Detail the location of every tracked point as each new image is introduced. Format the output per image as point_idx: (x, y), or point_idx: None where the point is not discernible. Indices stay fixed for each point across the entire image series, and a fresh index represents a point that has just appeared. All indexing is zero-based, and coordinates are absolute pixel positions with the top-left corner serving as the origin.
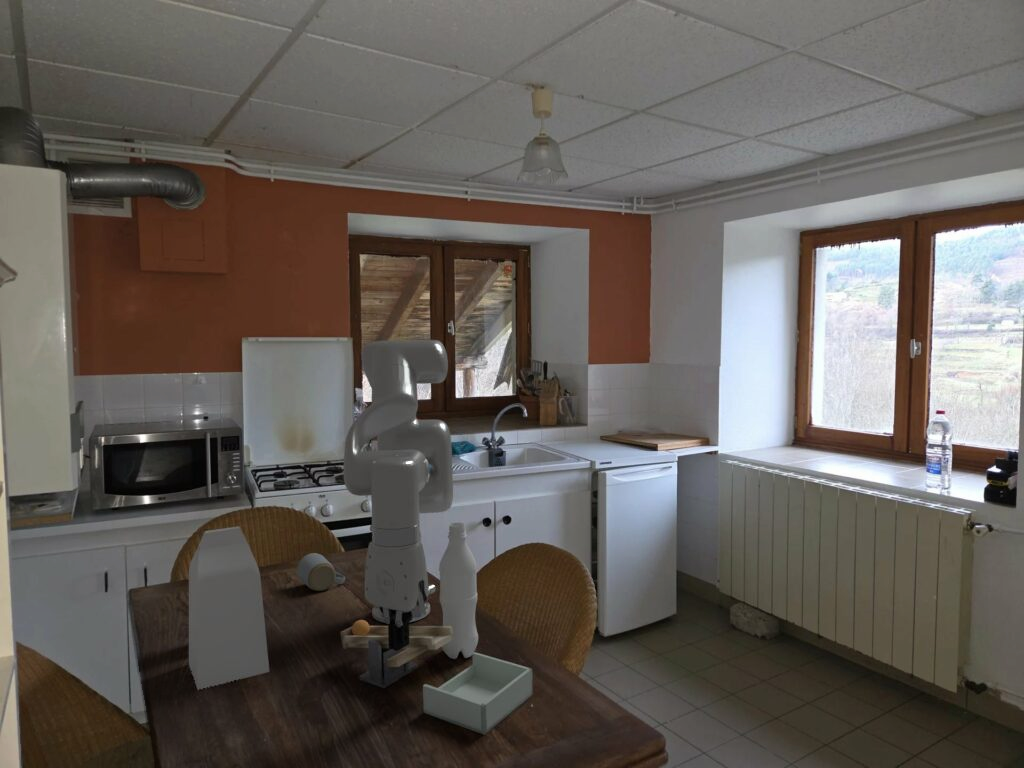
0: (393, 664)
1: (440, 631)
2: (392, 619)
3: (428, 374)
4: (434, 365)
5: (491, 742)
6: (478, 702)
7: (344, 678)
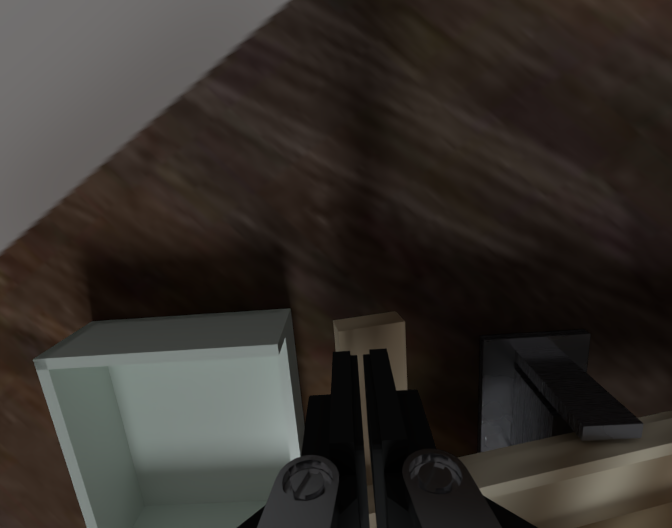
0: (359, 320)
1: None
2: (401, 502)
3: None
4: None
5: (55, 307)
6: (61, 365)
7: (631, 309)
